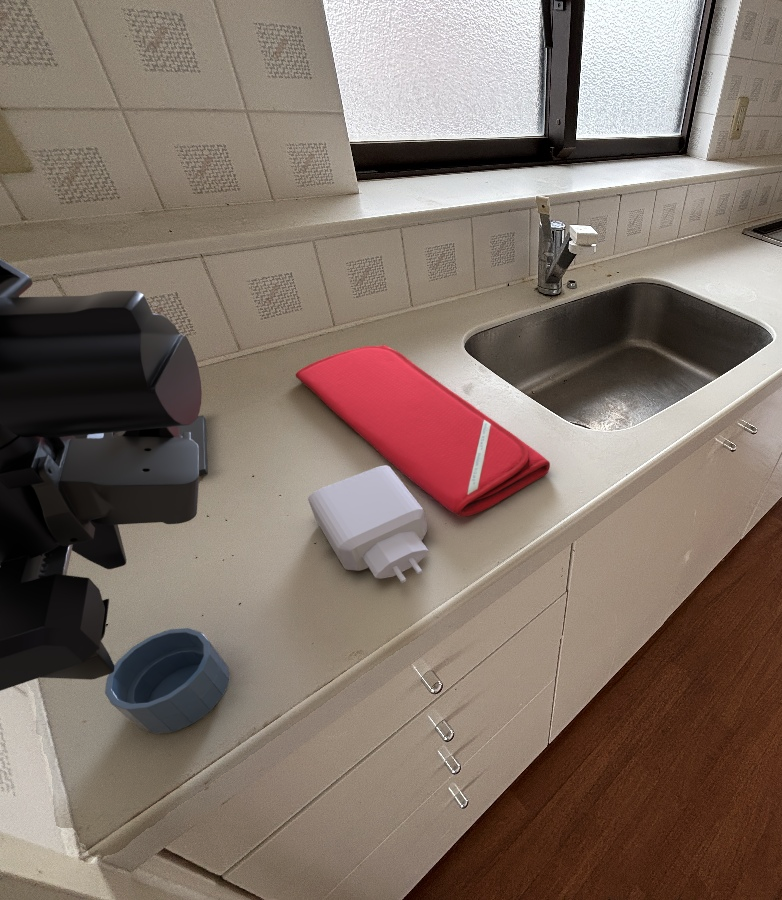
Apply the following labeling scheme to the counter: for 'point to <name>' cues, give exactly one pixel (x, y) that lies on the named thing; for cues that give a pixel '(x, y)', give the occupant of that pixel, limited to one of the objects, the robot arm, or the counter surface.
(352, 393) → the dish drying mat
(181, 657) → the bowl
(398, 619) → the counter surface
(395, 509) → the charger
